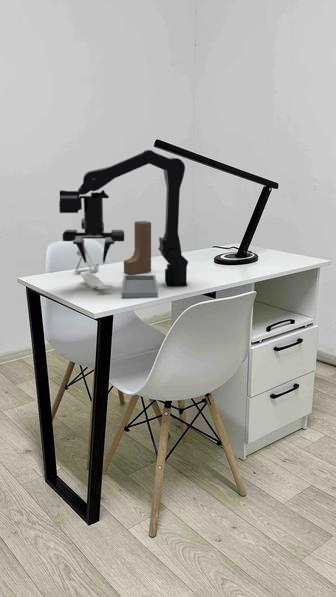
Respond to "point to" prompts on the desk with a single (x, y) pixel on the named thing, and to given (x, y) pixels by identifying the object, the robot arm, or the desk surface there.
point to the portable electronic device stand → (87, 262)
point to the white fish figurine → (94, 281)
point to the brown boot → (140, 250)
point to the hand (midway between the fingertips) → (94, 262)
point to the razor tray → (139, 286)
